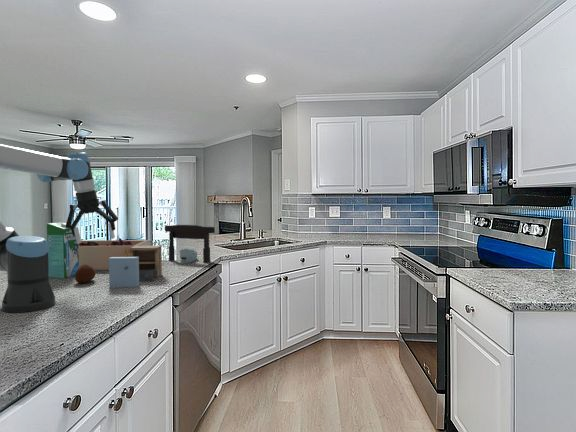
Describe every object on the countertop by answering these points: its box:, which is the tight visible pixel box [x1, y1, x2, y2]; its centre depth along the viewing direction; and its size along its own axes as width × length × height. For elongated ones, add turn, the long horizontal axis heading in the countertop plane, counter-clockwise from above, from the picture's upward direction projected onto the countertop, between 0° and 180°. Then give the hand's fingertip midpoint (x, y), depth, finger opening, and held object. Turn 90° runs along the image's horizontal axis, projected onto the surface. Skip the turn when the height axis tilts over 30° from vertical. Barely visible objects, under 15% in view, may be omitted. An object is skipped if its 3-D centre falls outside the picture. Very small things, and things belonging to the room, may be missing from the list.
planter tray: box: [78, 239, 150, 271], centre depth 214 cm, size 27×38×12 cm
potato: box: [74, 265, 96, 284], centre depth 171 cm, size 8×12×8 cm, turn 10°
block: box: [108, 257, 140, 288], centre depth 163 cm, size 4×11×12 cm, turn 95°
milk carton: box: [46, 221, 79, 279], centre depth 184 cm, size 9×9×25 cm
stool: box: [164, 224, 216, 264], centre depth 228 cm, size 16×21×33 cm
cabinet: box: [130, 245, 163, 282], centre depth 180 cm, size 14×12×14 cm
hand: (96, 240), depth 166 cm, fingers open, 13 cm apart
